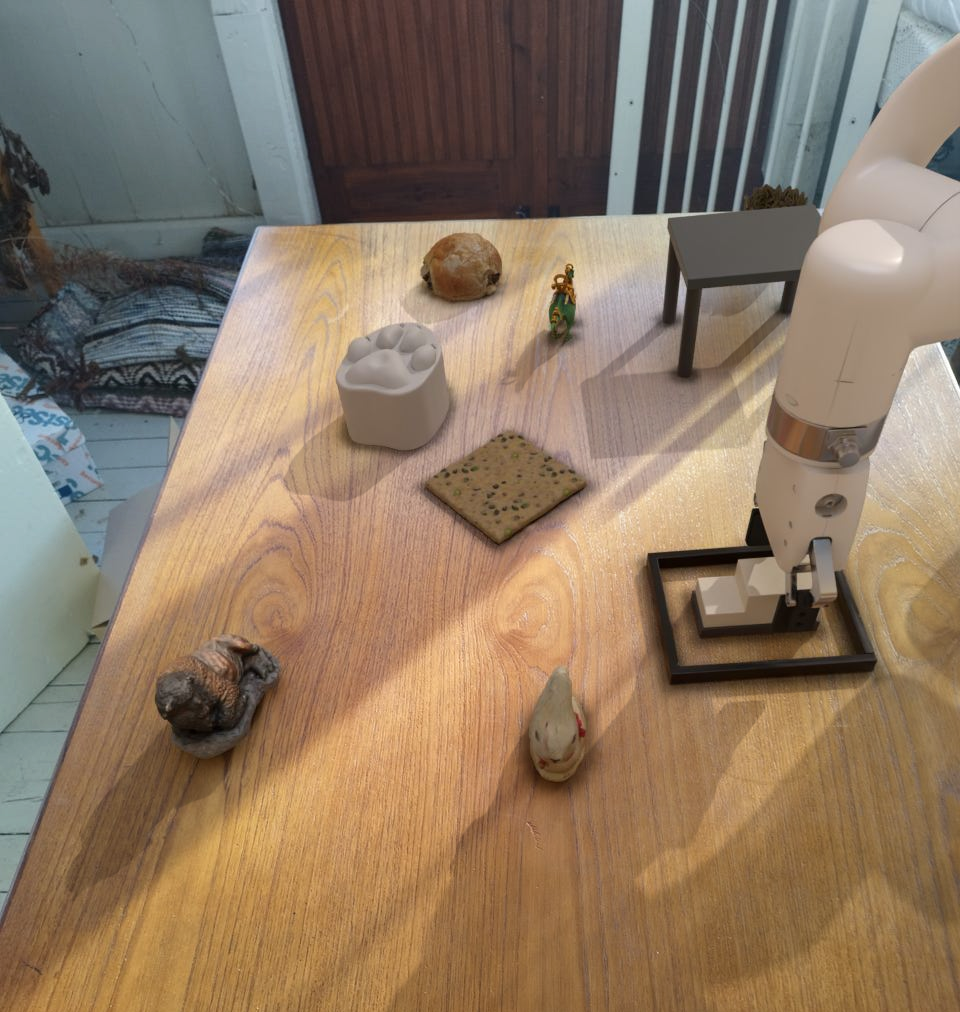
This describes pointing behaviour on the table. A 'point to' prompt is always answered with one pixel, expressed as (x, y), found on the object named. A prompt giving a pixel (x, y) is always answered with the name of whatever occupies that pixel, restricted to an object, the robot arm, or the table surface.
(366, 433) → the lumpy-topped squat cylinder
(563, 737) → the chocolate bunny
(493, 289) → the bread roll
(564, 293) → the figurine
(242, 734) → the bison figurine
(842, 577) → the black rectangular frame
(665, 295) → the small grey table
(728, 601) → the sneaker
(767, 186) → the olive lumpy mound
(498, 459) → the cookie
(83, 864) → the table surface
